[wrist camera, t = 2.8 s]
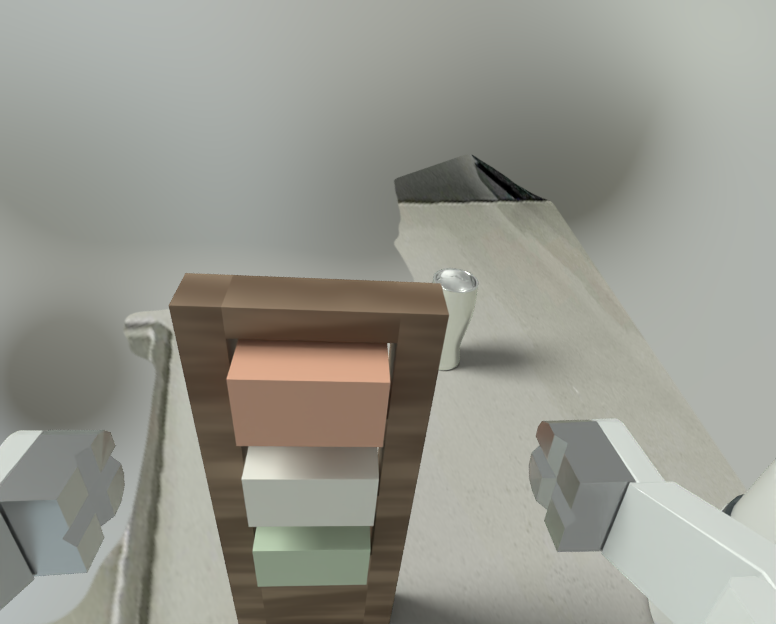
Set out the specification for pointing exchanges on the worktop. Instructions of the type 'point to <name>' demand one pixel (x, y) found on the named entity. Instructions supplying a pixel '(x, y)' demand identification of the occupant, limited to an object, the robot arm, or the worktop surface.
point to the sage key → (311, 555)
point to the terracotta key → (309, 393)
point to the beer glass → (456, 310)
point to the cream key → (310, 486)
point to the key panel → (226, 460)
